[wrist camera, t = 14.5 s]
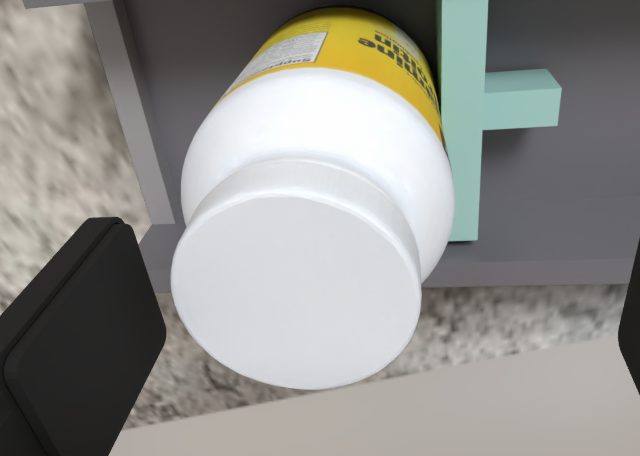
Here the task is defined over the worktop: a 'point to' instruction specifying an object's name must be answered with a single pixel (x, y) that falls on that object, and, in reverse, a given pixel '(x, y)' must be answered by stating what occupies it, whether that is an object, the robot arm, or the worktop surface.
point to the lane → (419, 21)
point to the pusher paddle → (480, 101)
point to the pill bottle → (315, 203)
